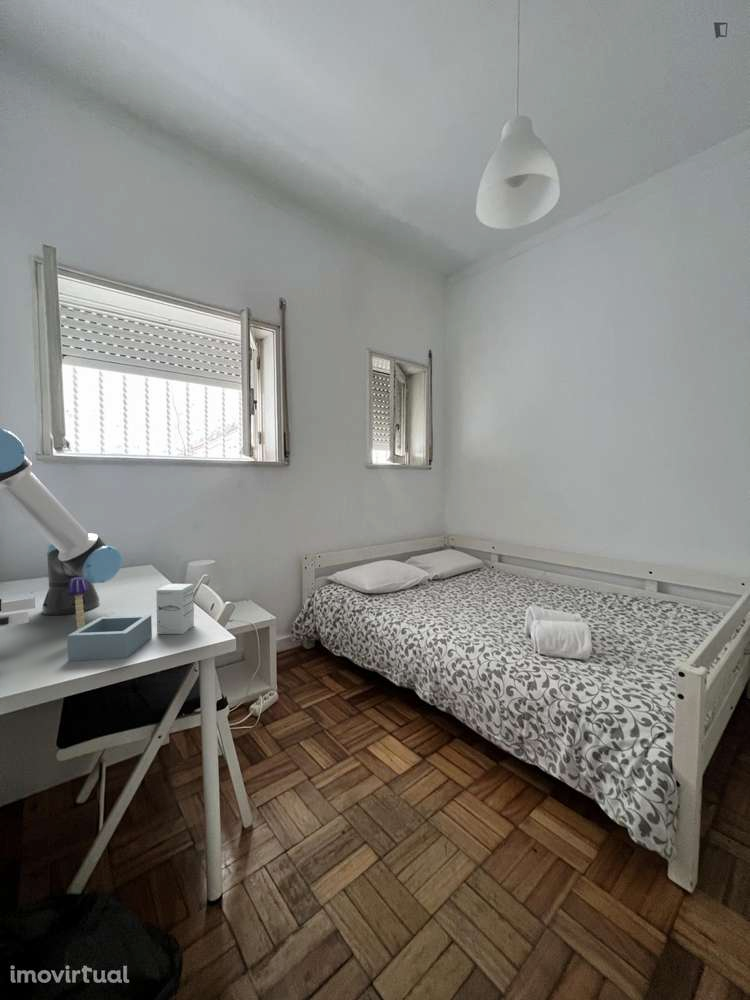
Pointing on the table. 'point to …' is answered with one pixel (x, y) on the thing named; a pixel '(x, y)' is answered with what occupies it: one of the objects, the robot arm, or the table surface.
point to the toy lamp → (78, 597)
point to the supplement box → (175, 608)
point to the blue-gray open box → (109, 637)
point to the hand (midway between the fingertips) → (31, 609)
